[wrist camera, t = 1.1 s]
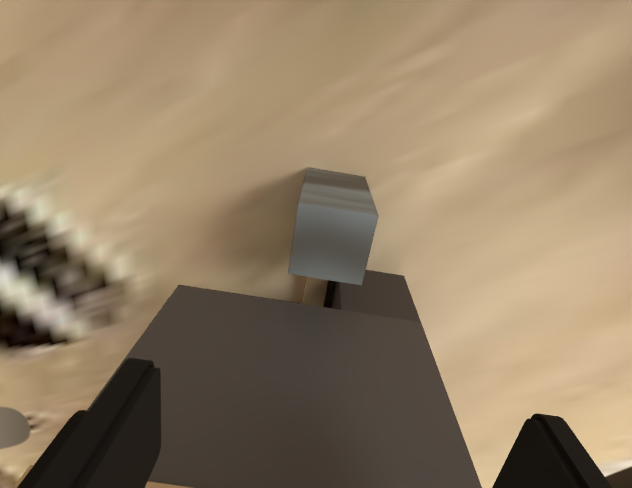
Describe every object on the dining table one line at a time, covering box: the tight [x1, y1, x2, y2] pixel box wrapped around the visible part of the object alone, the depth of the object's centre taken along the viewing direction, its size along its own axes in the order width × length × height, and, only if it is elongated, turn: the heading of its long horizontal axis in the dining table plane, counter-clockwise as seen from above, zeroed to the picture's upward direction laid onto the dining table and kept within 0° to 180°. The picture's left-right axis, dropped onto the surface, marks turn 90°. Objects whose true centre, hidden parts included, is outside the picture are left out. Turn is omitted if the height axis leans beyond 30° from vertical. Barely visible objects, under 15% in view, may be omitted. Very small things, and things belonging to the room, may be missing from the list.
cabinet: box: [13, 270, 482, 488], centre depth 24 cm, size 19×16×19 cm
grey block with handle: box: [288, 167, 378, 307], centre depth 27 cm, size 23×4×8 cm, turn 171°
